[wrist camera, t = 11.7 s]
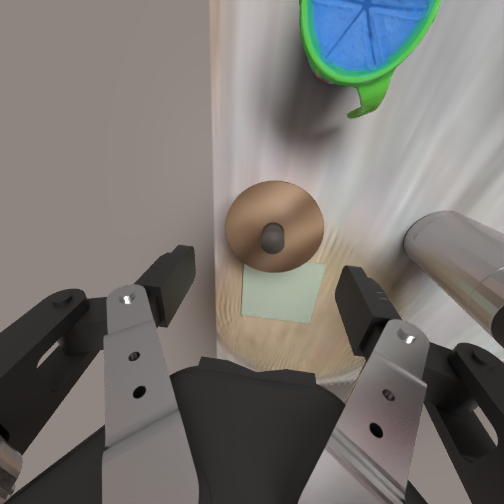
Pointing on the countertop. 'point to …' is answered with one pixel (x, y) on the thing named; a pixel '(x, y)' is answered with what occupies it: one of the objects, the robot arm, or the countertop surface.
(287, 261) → the lid
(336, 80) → the snack cup
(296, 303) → the mat
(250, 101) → the countertop surface
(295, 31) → the countertop surface
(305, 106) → the countertop surface
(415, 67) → the countertop surface
